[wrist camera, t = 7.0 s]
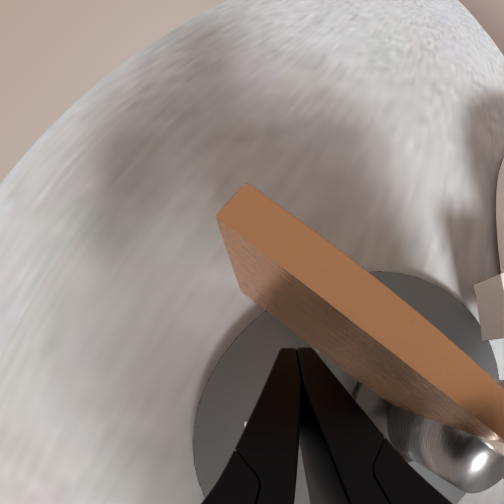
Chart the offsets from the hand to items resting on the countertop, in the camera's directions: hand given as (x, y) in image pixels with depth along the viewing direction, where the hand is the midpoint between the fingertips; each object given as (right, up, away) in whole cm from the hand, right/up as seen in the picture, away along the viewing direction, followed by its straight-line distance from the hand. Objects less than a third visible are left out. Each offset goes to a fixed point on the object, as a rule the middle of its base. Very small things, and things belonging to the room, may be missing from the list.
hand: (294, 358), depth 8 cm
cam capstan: (+6, -5, +6) cm, 10 cm away
